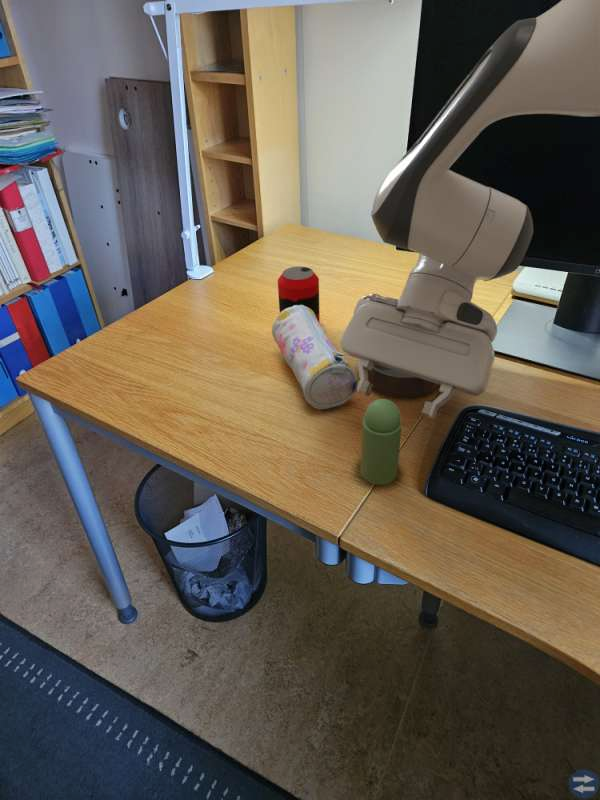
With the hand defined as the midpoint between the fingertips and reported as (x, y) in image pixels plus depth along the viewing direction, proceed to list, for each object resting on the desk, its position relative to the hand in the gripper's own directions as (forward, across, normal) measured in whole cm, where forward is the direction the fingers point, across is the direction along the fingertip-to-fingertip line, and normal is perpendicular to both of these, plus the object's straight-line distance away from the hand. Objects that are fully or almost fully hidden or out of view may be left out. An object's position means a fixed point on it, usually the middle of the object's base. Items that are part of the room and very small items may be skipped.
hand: (393, 405), depth 74 cm
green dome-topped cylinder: (+9, 0, +4) cm, 10 cm away
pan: (-7, -8, +20) cm, 23 cm away
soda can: (-10, -31, +23) cm, 40 cm away
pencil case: (-1, -20, +15) cm, 25 cm away
